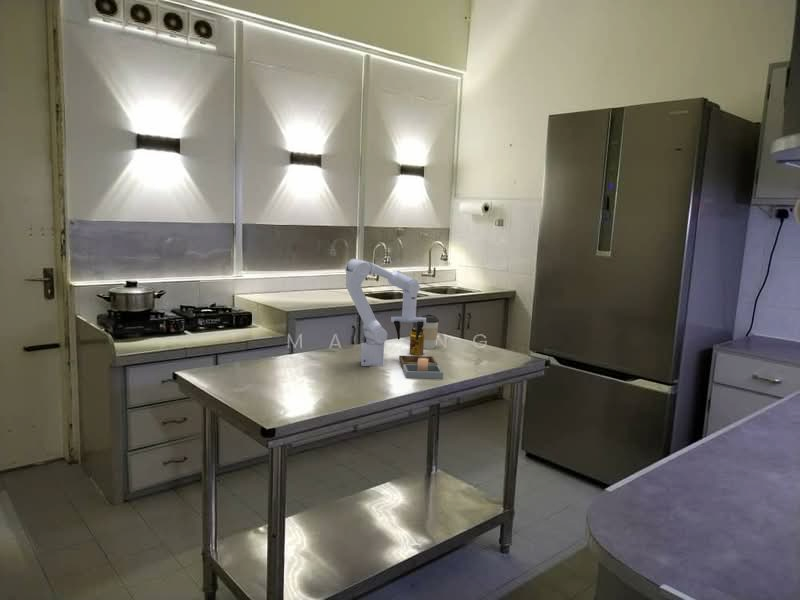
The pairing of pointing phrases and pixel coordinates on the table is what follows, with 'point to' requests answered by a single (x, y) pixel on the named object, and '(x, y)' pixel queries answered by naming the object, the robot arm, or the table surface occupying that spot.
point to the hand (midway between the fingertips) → (407, 339)
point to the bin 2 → (432, 373)
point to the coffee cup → (430, 331)
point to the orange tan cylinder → (422, 365)
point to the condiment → (416, 343)
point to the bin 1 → (415, 360)
